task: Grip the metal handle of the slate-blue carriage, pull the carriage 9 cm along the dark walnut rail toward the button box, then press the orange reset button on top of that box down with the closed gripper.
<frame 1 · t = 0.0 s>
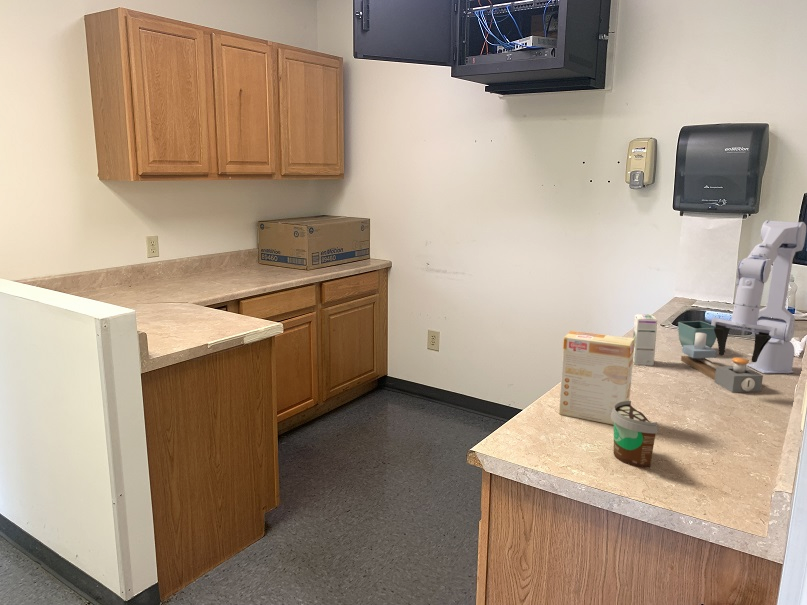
hand: (737, 358, 154), 11 cm above the countertop, tool pointing down, fingers open, 7 cm apart
flower pot: (695, 351, 195), on the countertop
rail: (707, 369, 177), on the countertop
reset button: (739, 365, 162), point 6 cm above the countertop, slide at 2.0 cm
button box: (737, 386, 164), on the countertop
food container: (624, 458, 123), on the countertop
coffeecake box: (593, 416, 144), on the countertop
syrup box: (641, 363, 184), on the countertop
carriage: (699, 344, 181), point 6 cm above the countertop, slide at 0.0 cm
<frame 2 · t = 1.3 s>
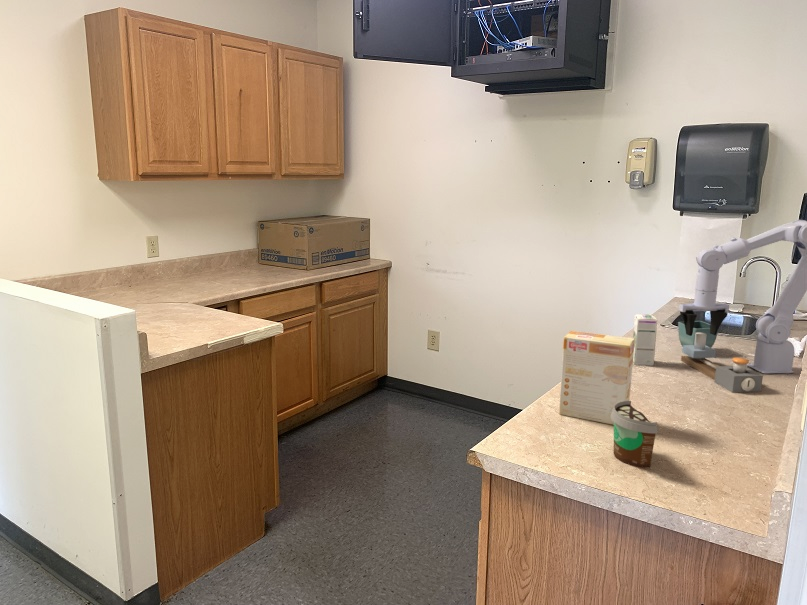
hand: (700, 334, 180), 9 cm above the countertop, tool pointing down, fingers open, 7 cm apart
nothing on the countertop moved.
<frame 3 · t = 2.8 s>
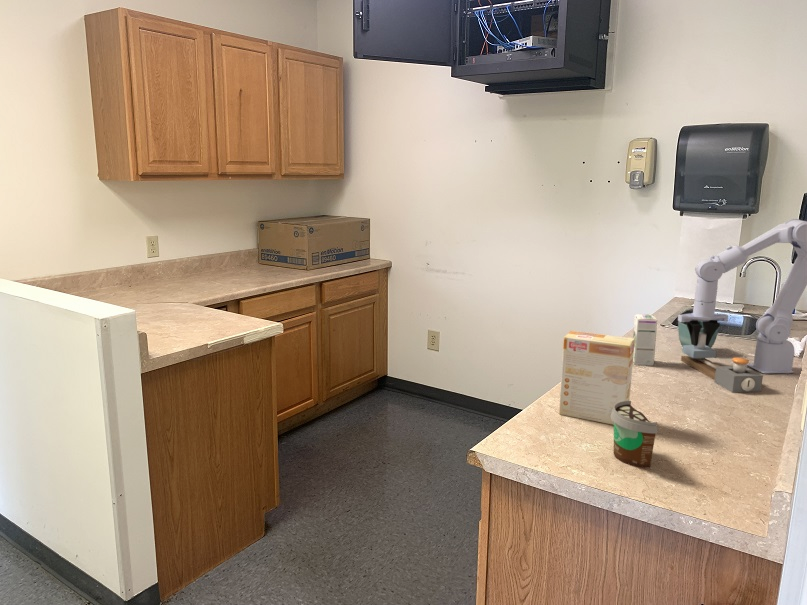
hand: (699, 344, 181), 6 cm above the countertop, tool pointing down, fingers closed on carriage, 3 cm apart
carriage: (699, 344, 181), point 6 cm above the countertop, slide at 0.0 cm, touching gripper
everything else where it was.
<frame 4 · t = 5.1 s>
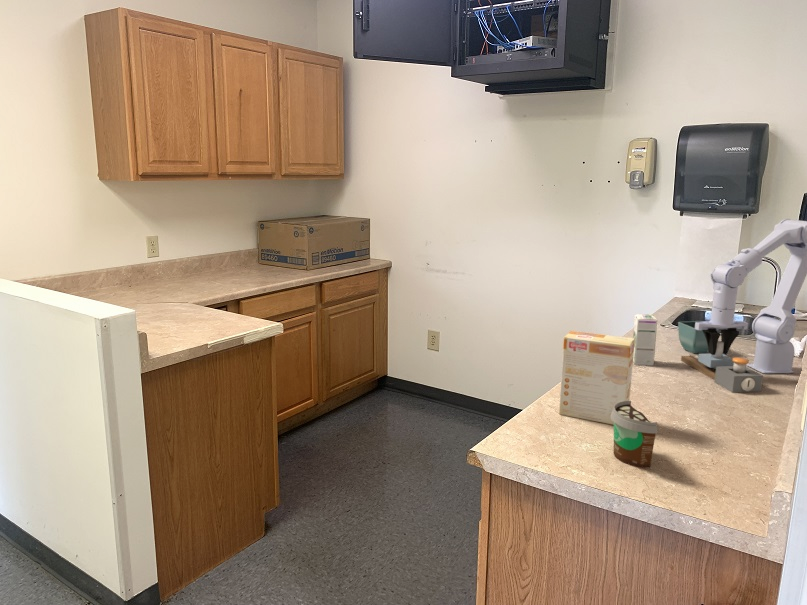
hand: (717, 353, 172), 6 cm above the countertop, tool pointing down, fingers closed on carriage, 3 cm apart
carriage: (716, 353, 172), point 6 cm above the countertop, slide at 8.6 cm, touching gripper
everything else where it was.
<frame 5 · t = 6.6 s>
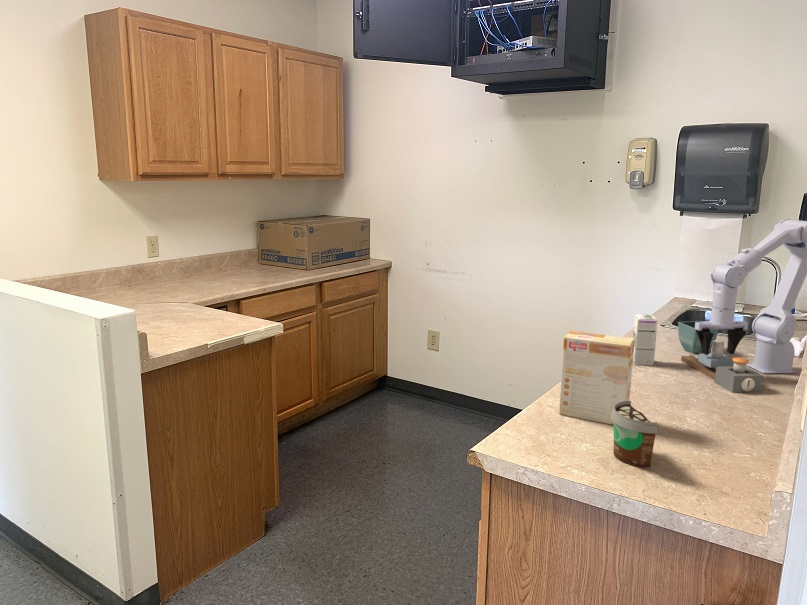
hand: (717, 353, 172), 6 cm above the countertop, tool pointing down, fingers open, 7 cm apart
carriage: (716, 353, 172), point 6 cm above the countertop, slide at 8.6 cm
everything else where it was.
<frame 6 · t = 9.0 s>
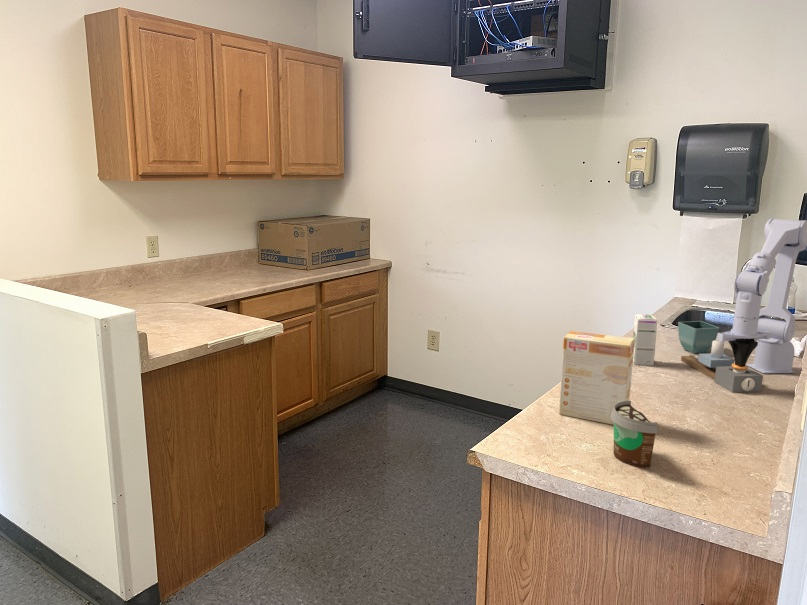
hand: (739, 365, 162), 6 cm above the countertop, tool pointing down, fingers closed, pressing on reset button
reset button: (739, 371, 163), point 4 cm above the countertop, slide at 0.3 cm, touching gripper
everything else where it was.
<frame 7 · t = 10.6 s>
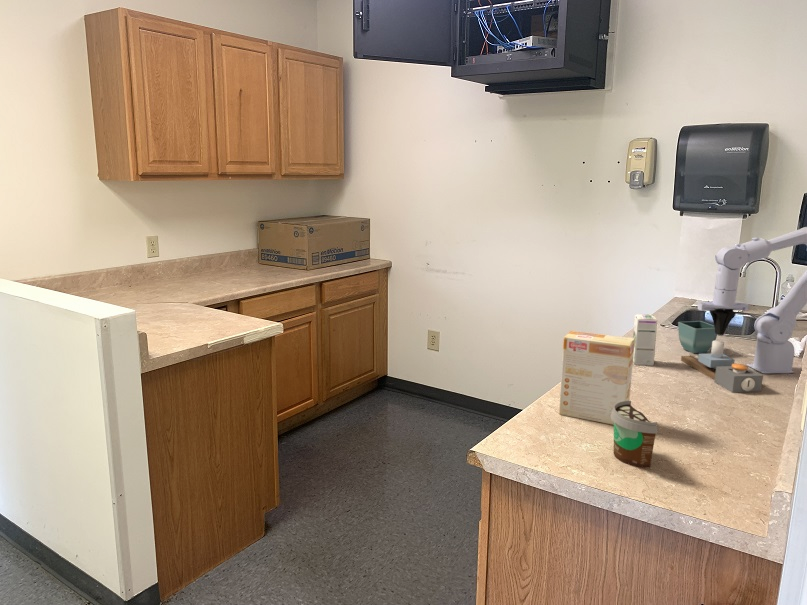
hand: (719, 334, 177), 10 cm above the countertop, tool pointing down, fingers closed
reset button: (739, 372, 163), point 4 cm above the countertop, slide at 0.3 cm
everything else where it was.
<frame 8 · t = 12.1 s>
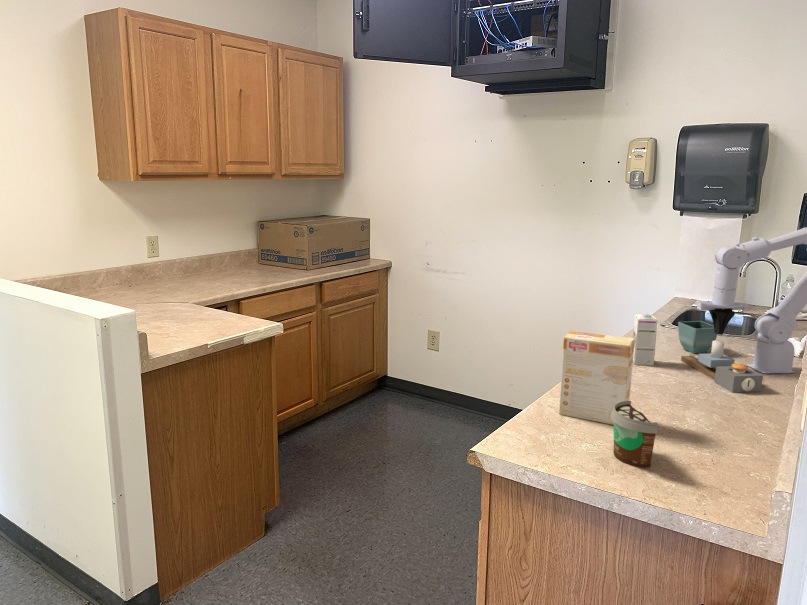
hand: (718, 333, 177), 10 cm above the countertop, tool pointing down, fingers closed
nothing on the countertop moved.
at the end: carriage slide at 8.6 cm; reset button slide at 0.3 cm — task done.
